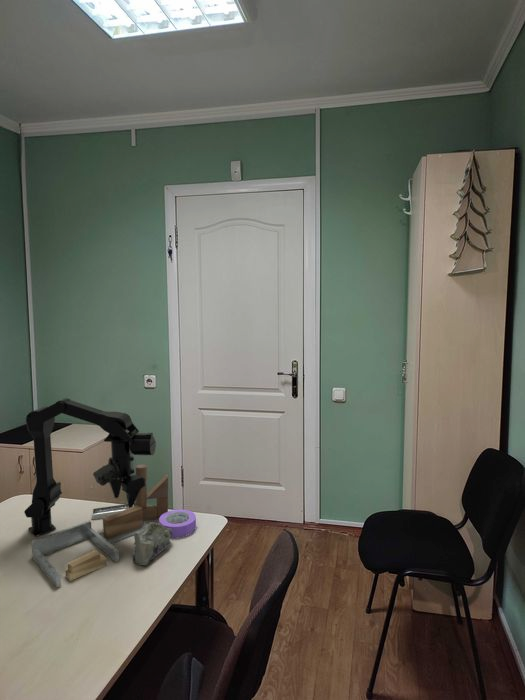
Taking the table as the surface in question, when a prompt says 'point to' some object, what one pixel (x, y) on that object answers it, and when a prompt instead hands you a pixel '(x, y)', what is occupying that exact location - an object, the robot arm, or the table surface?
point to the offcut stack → (85, 565)
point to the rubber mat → (123, 535)
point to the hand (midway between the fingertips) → (123, 502)
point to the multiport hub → (108, 511)
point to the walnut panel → (122, 522)
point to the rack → (66, 539)
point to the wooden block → (152, 496)
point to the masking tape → (179, 516)
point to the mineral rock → (150, 542)
